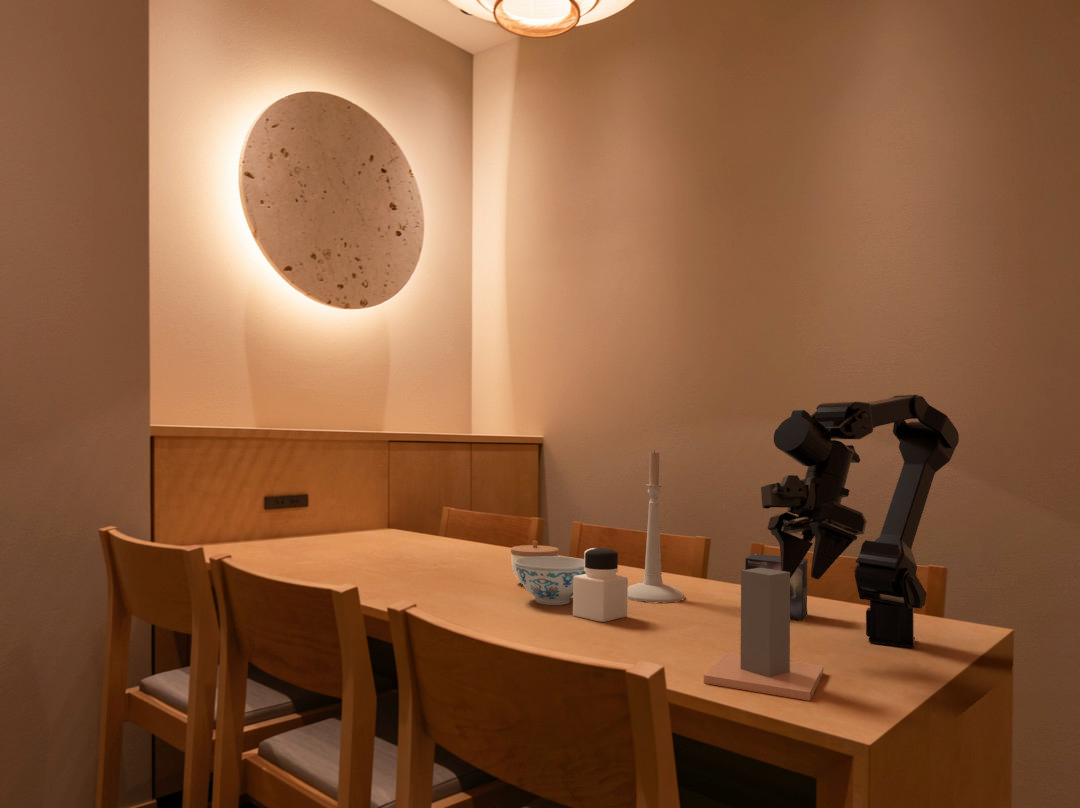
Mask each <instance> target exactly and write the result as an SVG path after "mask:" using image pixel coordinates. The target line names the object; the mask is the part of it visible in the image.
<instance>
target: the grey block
mask: <svg viewBox="0 0 1080 808" xmlns="http://www.w3.org/2000/svg"><path fill="white" fill-rule="evenodd" d="M740 654H741V668H740V669H742V670H746V671H749V672H752V673H756V674H759V675H762V676H766V677H769V678H770V677H773V676H777V675H780V674H784V673H787V672H790V661H791V619H790V572H785V571H779V570H773V569H767V568H755V569H747V570H745V569H741V570H740Z"/></svg>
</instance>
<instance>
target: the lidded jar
mask: <svg viewBox="0 0 1080 808" xmlns="http://www.w3.org/2000/svg"><path fill="white" fill-rule="evenodd" d="M510 553H511V555H510V556H511V557H510V560H511V561H510V563H511V569H512V572H513V575H514V576H515V577H516V579H517V580H518V581H519V582H520V583H521V581H520V579H519V577H518V574H517V570H516V565H515V561H516V560H517V559H520V558H525V557H536V556H559V554H560V549H559V548H558V547H556V546H555V547H554V546H550V545H538V540H532V544H531V545H530V544H529V545H517V546H512V547H511V548H510ZM559 557H560V556H559ZM520 583H519V584H520ZM520 585H522V583H521V584H520Z"/></svg>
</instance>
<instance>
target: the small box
mask: <svg viewBox="0 0 1080 808" xmlns="http://www.w3.org/2000/svg"><path fill="white" fill-rule="evenodd" d="M744 560H745V561H744V562H745V564H744V565H745V566H744V570H747V569H755V568H767V569H773V570H779V571H781V556H780V555H774V554H773V555H770V554H761V553H760V554H758V553H752V554H749V555H747V556H746V557H745V558H744ZM808 561H809V559H808V558H805V557H804V558H803V560H802V562H801V563H800V565H799V566H798V568H797V569H796V571H795V573H794V574H793V575H792V577H791V578H790V620H794V619H797V620H796V621H801V620H802V621H803V620H804V619H805V618H806V617H807V616H806V615H808Z"/></svg>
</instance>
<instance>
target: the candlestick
mask: <svg viewBox="0 0 1080 808" xmlns="http://www.w3.org/2000/svg"><path fill="white" fill-rule="evenodd" d="M645 486H646V487H647V494H648V495H649V502H648V516H647V517H648V518H647V529H646V531H647V532H646V533H647V534H646V545H645V546H646V547H645V548H646V549H645V562H644V575H643V576H644V577H643V581H642V582H638V583H633V584H631V585H628V595H627V598H628V599H627V600H629V599H632V600H631V601H633V600H637V601H636V602H639V601H645V602H644V603H648V602H673V603H676V602H675V601H679V602H681V601H680V600H682V599H684V600H685V594H684V593H683V592H682V591H681V590H680V589H679V588H677V587H675V586H672V585H670V584H666V583H663V578H662V577H663V576H662V575H663V573H662V557H661V556H662V554H661V532H660V530H661V529H660V528H661V527H660V502H659V495H660V494H661V488H662V487H663V484H660V452H656V450H654V452H649V482H648V483H647V484H645ZM682 601H683V600H682Z"/></svg>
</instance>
